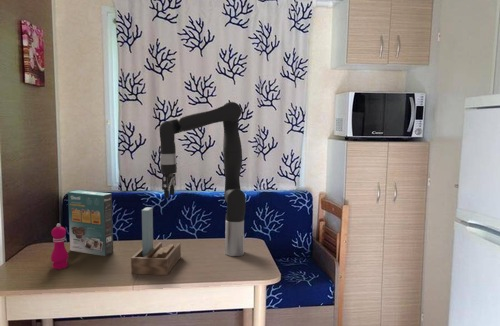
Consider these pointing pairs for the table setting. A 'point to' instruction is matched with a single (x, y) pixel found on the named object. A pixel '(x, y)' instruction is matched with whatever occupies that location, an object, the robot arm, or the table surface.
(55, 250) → the pepper mill
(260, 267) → the table surface
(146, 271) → the rack
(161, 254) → the offcuts
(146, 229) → the panel
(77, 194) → the cake mix box
